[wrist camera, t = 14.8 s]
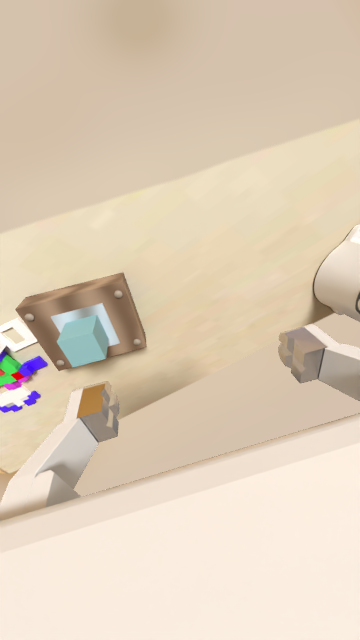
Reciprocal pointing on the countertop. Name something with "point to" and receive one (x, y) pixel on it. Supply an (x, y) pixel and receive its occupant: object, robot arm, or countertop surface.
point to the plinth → (85, 315)
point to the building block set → (17, 368)
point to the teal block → (83, 341)
